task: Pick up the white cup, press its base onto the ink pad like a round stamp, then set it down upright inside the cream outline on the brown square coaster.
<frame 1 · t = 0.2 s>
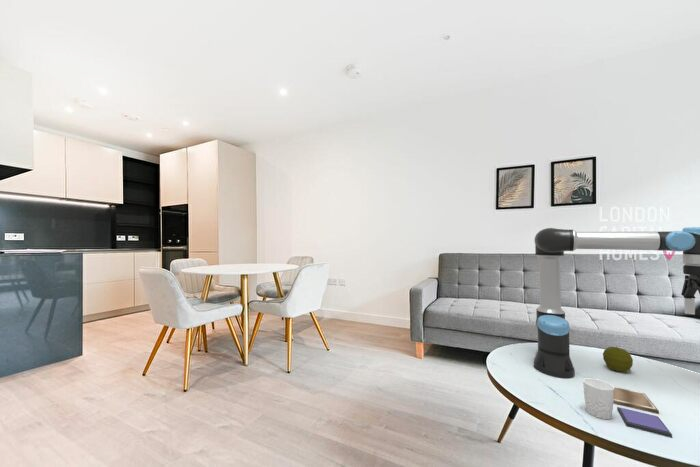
hand: (698, 317, 114), 28 cm above the table, fingers open, 13 cm apart
brown square coaster: (626, 399, 104), on the table
ink pad: (642, 422, 91), on the table
white cup: (598, 414, 96), on the table
apple: (617, 370, 128), on the table
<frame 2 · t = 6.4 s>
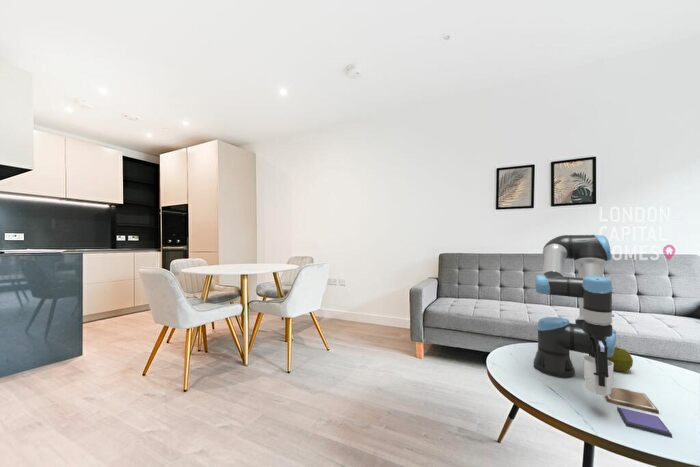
hand: (598, 388, 96), 8 cm above the table, fingers closed on white cup, 8 cm apart
white cup: (598, 390, 96), point 7 cm above the table, touching gripper
everything else where it was.
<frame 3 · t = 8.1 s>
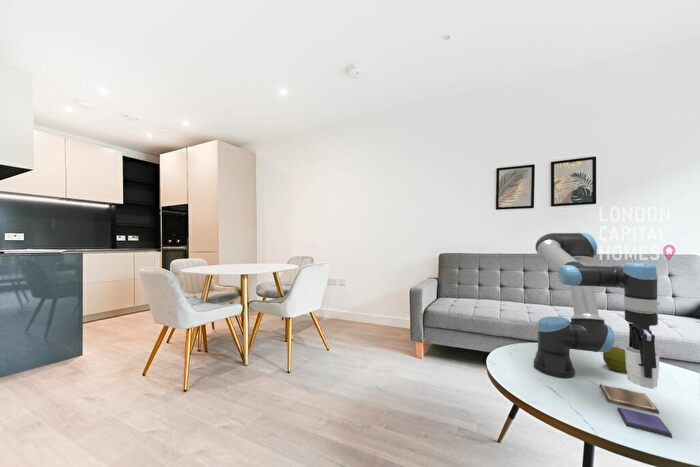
hand: (642, 381, 91), 13 cm above the table, fingers closed on white cup, 8 cm apart
white cup: (642, 383, 91), point 13 cm above the table, touching gripper
everything else where it was.
when the fingers open (2 cm above the table, at t = 9.9 s): white cup stays where it is, resting on ink pad.
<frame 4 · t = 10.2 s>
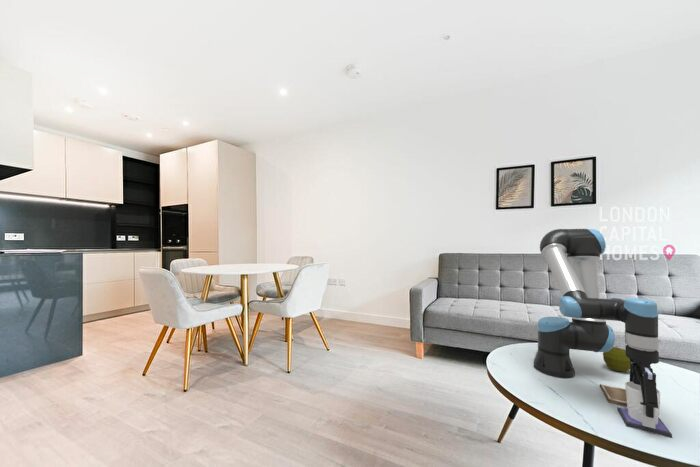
hand: (643, 418, 90), 2 cm above the table, fingers open, 8 cm apart
white cup: (642, 419, 91), point 1 cm above the table, touching ink pad
everything else where it was.
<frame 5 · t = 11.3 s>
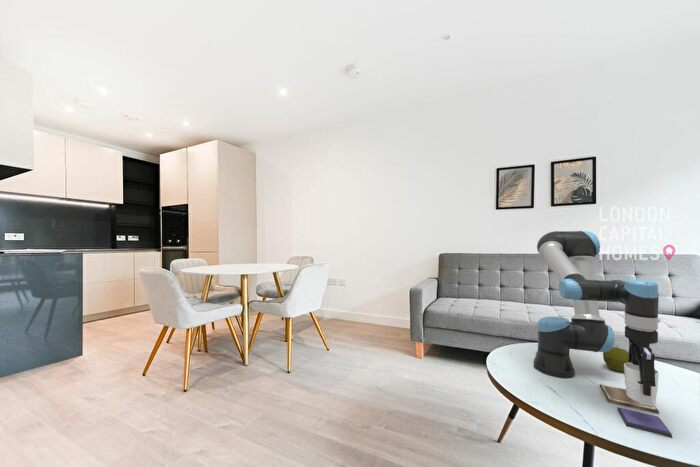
hand: (640, 397, 92), 8 cm above the table, fingers closed on white cup, 8 cm apart
white cup: (640, 399, 92), point 7 cm above the table, touching gripper
everything else where it was.
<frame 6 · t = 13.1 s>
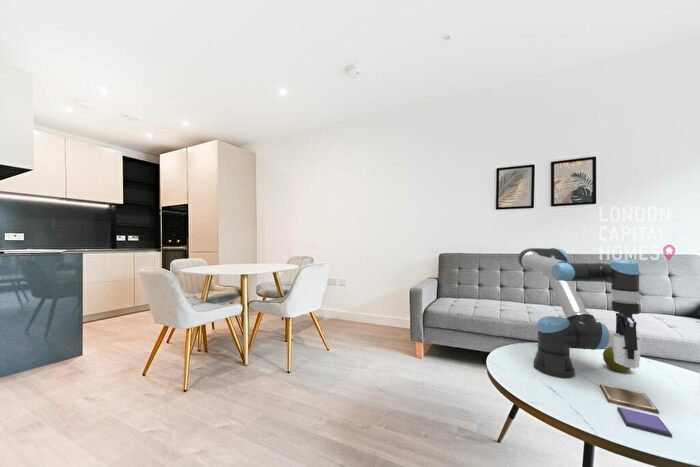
hand: (626, 363, 105), 13 cm above the table, fingers closed on white cup, 8 cm apart
white cup: (626, 364, 105), point 13 cm above the table, touching gripper
everything else where it was.
when the fingers open (2 cm above the table, at t = 15.1 s): white cup stays where it is, resting on brown square coaster.
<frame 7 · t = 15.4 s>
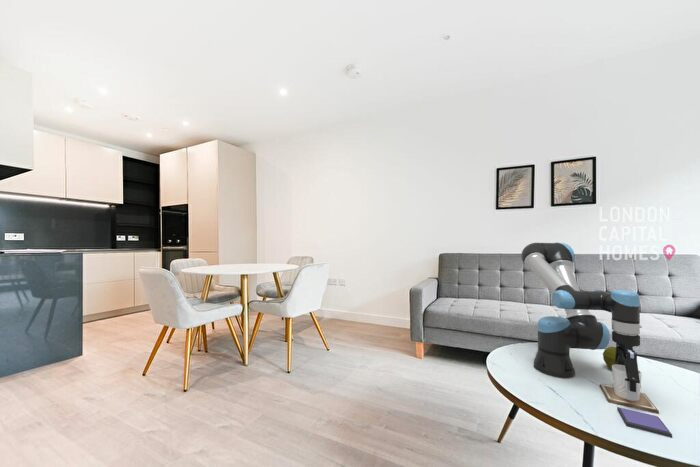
hand: (626, 391, 105), 3 cm above the table, fingers open, 11 cm apart
white cup: (626, 396, 105), point 1 cm above the table, touching brown square coaster
everything else where it was.
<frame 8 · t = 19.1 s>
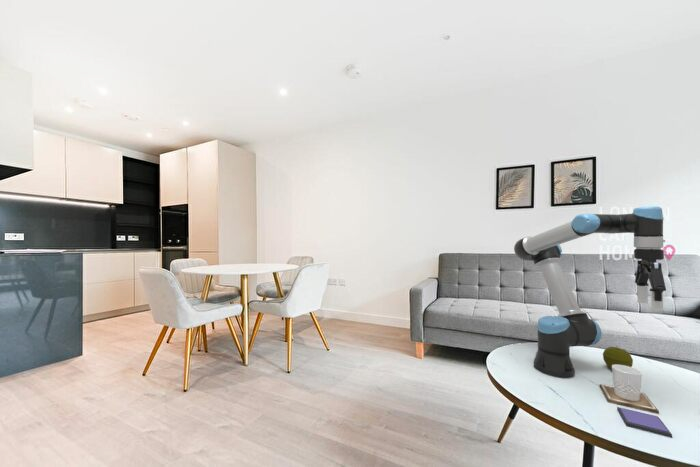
hand: (649, 306, 103), 35 cm above the table, fingers open, 13 cm apart
nothing on the table moved.
at the end: white cup inside the target area on the brown square coaster (0.0 cm from its centre), point 0.8 cm above the brown square coaster's base; white cup tilted 0°; the gripper is holding nothing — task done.
